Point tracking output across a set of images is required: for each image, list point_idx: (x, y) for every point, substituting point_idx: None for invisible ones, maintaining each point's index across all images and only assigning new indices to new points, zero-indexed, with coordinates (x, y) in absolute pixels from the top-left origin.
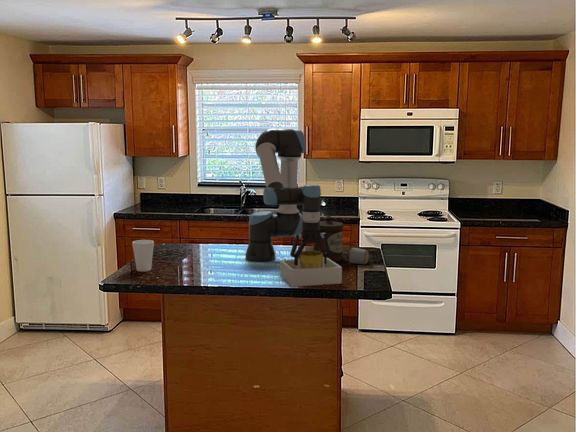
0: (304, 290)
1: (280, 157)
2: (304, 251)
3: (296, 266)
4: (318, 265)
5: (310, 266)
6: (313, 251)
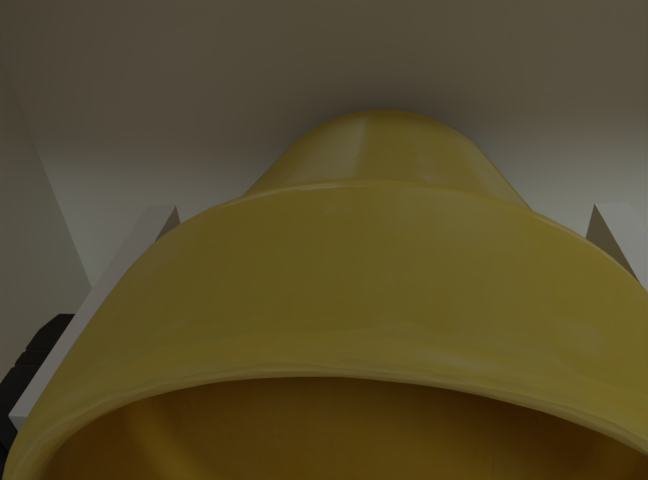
0: None
1: None
2: (217, 381)
3: (111, 274)
4: (479, 458)
5: (326, 460)
6: (618, 435)
